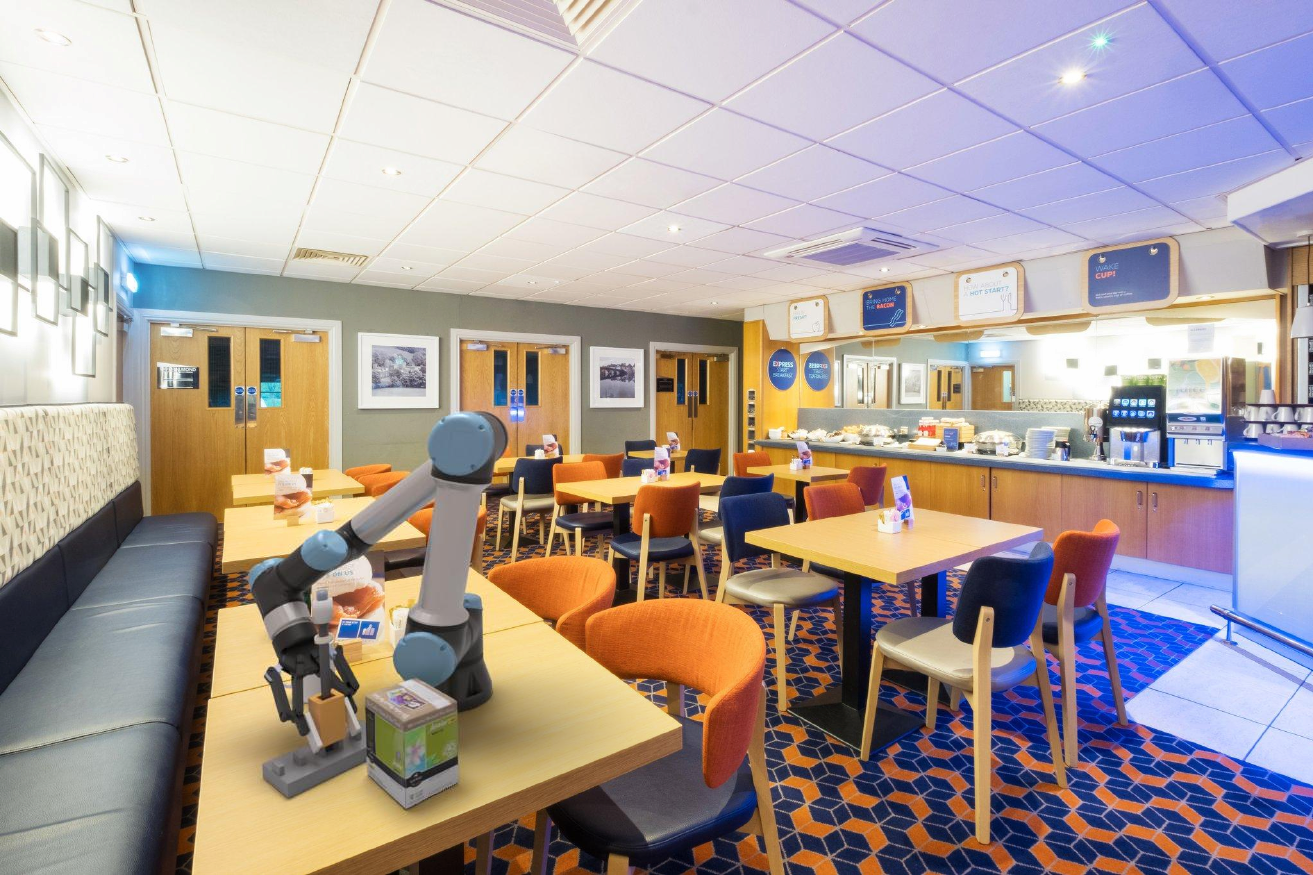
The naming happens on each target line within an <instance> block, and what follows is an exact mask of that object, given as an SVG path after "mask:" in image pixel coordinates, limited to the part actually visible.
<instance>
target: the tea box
mask: <svg viewBox="0 0 1313 875" xmlns="http://www.w3.org/2000/svg"><path fill="white" fill-rule="evenodd" d="M364 696H365V697H364V702H365V703H364V710H365V711H364V712H365V722H366V749H367V761H366V773H367V775H368V776H369V777H370V778H371V779H372V780H373V781H375V782H376V783H377V784H378V785H379V786H380V787H381V788H382V789H384V791H386V792H387V793H388V794H389V795H390V796H391V797H392V798H393V799H394V800H395V801H396V802H398V803H399V804H400V805H401V806H402V807H403V808H404V809H407V810H408V809H409V808H411V807H414V806H415V804H416V805H418V804H420V803H422V802H424V801H426V800H428V799H429V798H428V797H430V796H432V795H434V794H436V793H438V792H440V791H442V790H443V791H445V790H446V789H445V788H447V789H449V788H451V787H453V786H455V785H457V784H458V783H459V745H458V744H459V742H458V740H459V738H458V737H459V736H458V733H459V732H458V730H459V729H458V728H459V727H458V712H457V701H456V700H454V699H453V698H451V697H449V696H448V695H446V694H444V693H442V692H440V691H439V690H437V689H435V688H434V687H432V686H430V685H428V684H427V683H425V682H423V681H421V680H419V679H418V678H413V679H410V680H407V681H404V680H403V682H399V683H396V684H394V685H390V686H388V687H385V688H382V689H379V690H376V691H373V692H370V693H367V694H365V695H364ZM456 783H457V784H456ZM454 784H455V785H454ZM452 785H453V786H452ZM450 786H451V787H450ZM448 787H449V788H448ZM444 789H445V790H444ZM443 791H442V792H443ZM440 793H441V792H440ZM438 794H439V793H438ZM436 795H437V794H436ZM434 796H435V795H434ZM432 797H433V796H432ZM427 798H428V799H427ZM430 798H431V797H430ZM425 799H426V800H425ZM423 800H424V801H423ZM421 801H422V802H421Z"/></svg>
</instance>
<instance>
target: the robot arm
mask: <svg viewBox="0 0 1313 875" xmlns="http://www.w3.org/2000/svg"><path fill="white" fill-rule="evenodd" d="M509 440H510V439H509V432H508V428H507V427H506V425H505V423H504V422H503V420H501V419H500V418H499V417H498V416H496V415H495V414H494V413H492V412H491V413H490V412H488V411H481V410H479V411H478V410H477V411H463V410H462V411H456V412H453V413H451V414H449V415H446V416H444V417H442V418H441V419H440V420H439V421H438V422H437V423H436V424H435V425H433V427H432V429H431V431H430V433H429V435H428V438H427V451H428V456H429V458H428V459H427V460H425V462H424V463H422V464H421V465H420V466H418V467H417V468H416V469H414V470H413V471H412V472H411V473H409V474H407V475H406V476H405V477H404V478H403V479H401V480H400V481H399V482H397V483H396V484H395V485H393V486H392V487H391V488H390V489H388V490H387V491H386V492H384V493H383V494H381V496H379V497H378V498H377V499H375V500H374V501H373V502H371V503H370V504H369V505H368V506H366V507H365V508H363V509H362V510H361V511H359V512H358V513H357V514H355V516H353V517H352V518H351V519H350V520H348V521H346V522H345V523H344V524H343V525H342V526H341V525H340V527H338V528H336V529H335V530H334V531H333V530H328V529H326V528H325V529H321V530H319V531H317V532H316V533H314V534H313V535H311V536H309V537H307V539H305V540H304V541H303V543H301V544H300V545H299V546H298V547H297V548H296V549H295V550H293V551H292V552H291V553H290V554H288V555H287V556H286V557H284V558H281V557H274V558H269V559H266V560H263V562H261V563H258V564H255V565H254V566H253V567H252V568H251V569H250V570H249V571H248V574H247V581H248V585H249V589H250V594H251V596H252V598H253V599H254V603H255V604H256V607H257V608H258V611H259V613H260V615H261V619H262V621H263V624H264V626H265V630H266V633H267V634H268V638H269V640H270V641H271V645H272V647H273V650H274V653H275V655H276V657H277V659H278V661H277V662H278V663H276V665H274V666H269V667H267V669H266V671H265V673H264V675H263V678H264V679H265V681H266V682H267V683H268V684H269V686H270V689H271V692H272V695H273V699H274V703H275V707H276V710H277V713H278V717H279V721H280V722H281V723H286V722H287V721H288V722H289V721H290V722H291V723H292V724H295V726H296V729H297V731H298V733H299V736H301V737H302V738H303V737H305V736H306V738H307V742H308V744H310V746H311V749H312V751H313V754H314V753H316V752H318V751H319V749H320V748H321V747H322V742H321V740H320V737H319V735H318V732H317V730H316V727H315V725H314V722H313V720H312V717H311V715H310V712H309V711H307V712H305V710H304V709H305V708H304V707H305V703H304V699H303V678H304V677H306V676H307V675H313V674H315V675H316V676H317V677H318V678H320V654H319V644H315V641H314V637H315V636H316V635H318V634H319V630H317V627H316V624H314V623H312V622H313V616H312V617H311V615H310V613H309V611H308V608H307V606H306V604H305V601H304V599H303V596H302V593H303V592H304V591H306V590H307V589H308V588H310V587H311V588H312V586H313V585H314V584H316V583H317V582H318V581H320V580H321V579H323V577H324V576H326V575H328V574H329V573H330V574H331V573H332V572H334V571H336V570H337V569H339V568H341V567H343V566H345V565H346V564H349V563H351V562H353V561H355V560H358V559H360V558H361V557H362V556H364V555H366V553H368V552H369V551H370V550H371V548H372V547H373V546H374V545H376V544H377V543H378V542H380V541H381V540H382V539H383V538H385V537H386V536H387V535H389V534H390V533H391V532H393V531H394V530H395V529H396V528H398V527H399V526H401V525H402V524H403V523H404V522H407V520H409V519H410V518H412V516H414V515H415V514H417V513H418V512H420V511H421V510H422V509H423V508H425V507H426V506H427V505H428V504H430V503H431V502H432V501H433V502H434V504H433V507H432V508H433V509H432V515H431V522H430V527H429V535H428V541H427V546H426V553H425V557H424V562H423V568H422V570H423V571H422V576H421V580H420V581H421V582H420V588H419V592H418V593H419V595H418V601H417V603H415V604H414V605H412V606H410V608H409V609H408V612H407V617H406V623H405V628H404V633H403V634H404V635H403V636H402V637H401V638H399V641H398V642H397V643H396V645H395V648H394V650H393V655H392V663H393V667H394V669H395V672H396V674H398V675H399V676H400V677H401V679H402V680H403V682H404V681H407V680H410V679H413V678H418V679H419V680H421V681H423V682H425V683H427V684H428V685H430V686H432V687H434V688H435V689H437V690H439V691H440V692H442V693H444V694H446V695H448V696H449V697H451V698H453V699H454V700H456V701H457V713H459V712H463V711H467V710H470V709H473V708H476V707H478V706H481V705H482V704H484V703H485V702H487V701H488V700H489V699H490V698H491V696H493V680H492V678H491V675H490V672H489V670H488V668H487V664H486V661H485V660H484V659H485V658H484V622H483V620H484V619H483V616H484V615H483V611H484V607H483V600H482V598H481V596H480V595H478V594H476V593H470V592H466V590H467V584H468V583H467V582H468V578H469V577H468V576H469V571H470V565H471V560H472V554H473V549H474V547H473V546H474V543H475V542H474V541H475V536H476V530H477V523H478V518H479V511H480V506H481V500H482V493H483V491H484V490H486V489H487V488H488V487H490V486H491V485H492V483H493V476H494V471H495V465H496V462H498V461H499V460H500V459H501V458H502V457H503V456H504V454H505V453H506V451H507V449H508V446H509ZM329 652H330V660H333V663H334V666H335V671H337V673H338V675H339V676H338V675H337V673H336V672H335V673H334V672H333V671H332V670H331V668H330V677H331V689H334V690H336V691H338V692H340V693H342V694H344V697H345V723H346V727H348V729H349V731H350V734H351V736H355V735H356V734H357V733H358V731H359V730H360V725H359V723H358V722H359V721H358V718H357V716H356V714H357V713H358V707H357V704H356V702H355V700H354V699H355V698H354V697H353V696H355V695H356V693H357V692H358V691H359V689H360V686H361V685H360V683H359V682H358V679H357V677H356V676H355V674H354V672H353V670H352V668H351V667H350V664H349V663H348V660H347V659H346V656H344V647H343V645H342V644H337V645H336V647H334V648H329ZM282 672H284V673H285V674H287V675H289V676H291V677H290V680H291V681H290V684H291V685H292V689H291V705H290V701H289V698H288V695H287V692H286V687H284V684H283V682H284V681H283V678H282V676H281V675H282ZM489 697H490V698H489ZM480 704H481V705H480ZM304 712H305V713H304Z"/></svg>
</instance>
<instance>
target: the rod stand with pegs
mask: <svg viewBox="0 0 1313 875" xmlns="http://www.w3.org/2000/svg"><path fill="white" fill-rule="evenodd" d="M328 590H329V589H320V590H317V591H316V597H315V598H313V599H311V607H312V620H313V623H314V625H318V635H316V636H315V637H314V641H315V644H319V654H320V679H321V700H322V701H323V700H326V699H329V698H331V677H330V652H329V642H331V641H333V638H334V633H333V632H329V630H330V629H329V628H330V627H329V623H330V622H332V621H334V606H333V604H334V602H333V597H332V596H330V595H329V591H328ZM358 723H359V725H360V730H359V731H358V733H357V734H356V735H355V736H351V734H350V731H349V729H348V727H347V726H346V738H344V739H341V740H339V741H337V742H335V743H332V744H330V745H328V746H325V747H323V748H320V749H319V751H318V752H316V753H314V754H313V751H312V749H311V746H310V744H309V743H307V744H305V745H302V746H300V747H298V748H296V749H293V750H291V751H287V753H284V754H281V755H280V756H276V757H274V758H272V759H269V760H268V761H266V762H265V761H264V762H262V764H261V765H262V768H261V769H262V778H263V779H264V780H265V781H266V782H268V783H269V784H270V785H271V786H272V785H273V787H274V788H275V789H276V790H277V791H278V792H279V793H281V794H282V795H284V797H285V798H287V799H291V798H294V797H295V796H297V795H299V794H301V793H303V792H305V791H308V790H309V789H311V788H313V787H316V786H317V785H319V784H322V783H324V782H325V781H327V780H329V779H332V778H333V777H336V776H338V775H340V774H342V773H344V772H345V771H348V770H351V769H353V768H354V767H356V766H358V765H360V764H363V763H366V762H367V749H366V721H364V720H360V721H358Z"/></svg>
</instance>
